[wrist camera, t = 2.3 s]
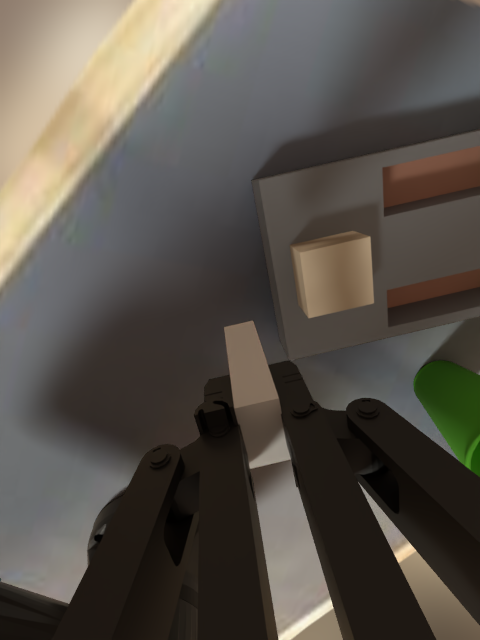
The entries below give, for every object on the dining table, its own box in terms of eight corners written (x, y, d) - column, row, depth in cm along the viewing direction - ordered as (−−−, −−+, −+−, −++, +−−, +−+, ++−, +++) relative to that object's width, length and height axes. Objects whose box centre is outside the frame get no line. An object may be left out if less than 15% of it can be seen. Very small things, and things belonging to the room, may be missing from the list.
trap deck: (279, 341, 34) (293, 369, 29) (251, 180, 28) (262, 180, 23) (552, 277, 34) (613, 294, 29) (580, 106, 28) (662, 90, 23)
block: (298, 304, 28) (308, 318, 26) (289, 245, 26) (299, 252, 24) (357, 291, 28) (373, 303, 26) (352, 230, 26) (370, 236, 24)
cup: (421, 333, 35) (509, 395, 25) (490, 354, 37) (598, 420, 27) (380, 404, 38) (444, 485, 28) (446, 420, 40) (529, 502, 30)
